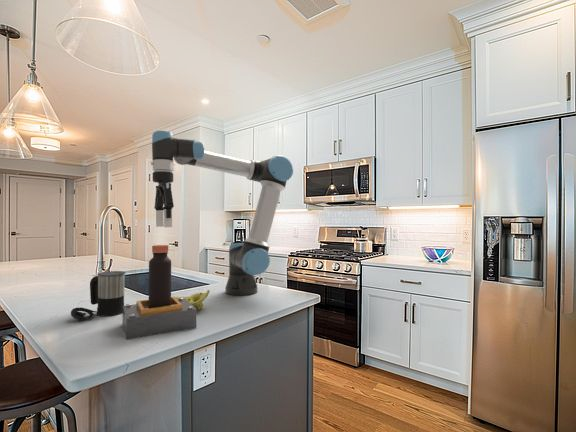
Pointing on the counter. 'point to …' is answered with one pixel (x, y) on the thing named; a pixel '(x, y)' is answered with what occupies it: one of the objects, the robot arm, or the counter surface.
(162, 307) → the gray fixture block
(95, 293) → the milk frother
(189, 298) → the yellow-green irregular piece
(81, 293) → the counter surface
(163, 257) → the vinegar
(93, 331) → the counter surface
